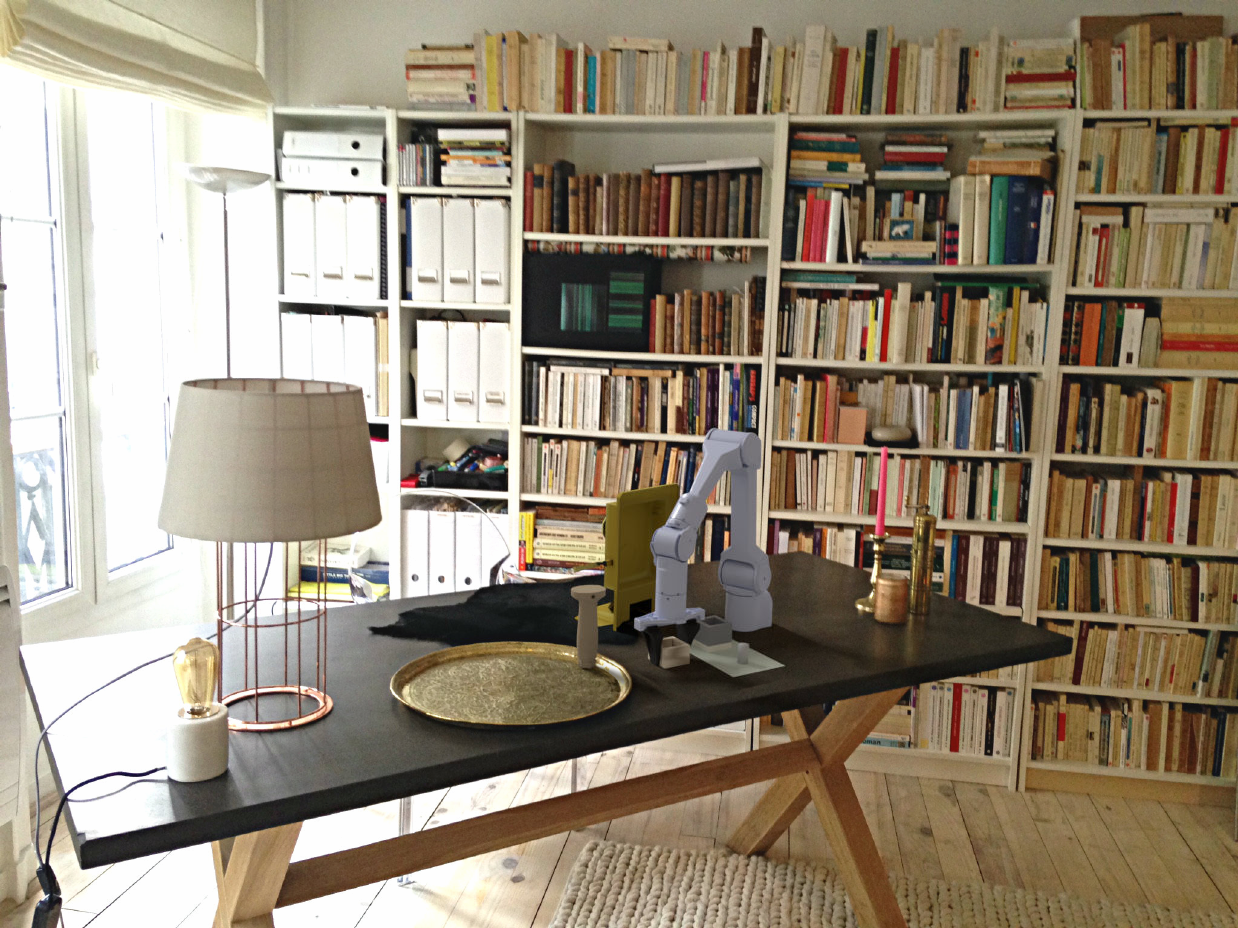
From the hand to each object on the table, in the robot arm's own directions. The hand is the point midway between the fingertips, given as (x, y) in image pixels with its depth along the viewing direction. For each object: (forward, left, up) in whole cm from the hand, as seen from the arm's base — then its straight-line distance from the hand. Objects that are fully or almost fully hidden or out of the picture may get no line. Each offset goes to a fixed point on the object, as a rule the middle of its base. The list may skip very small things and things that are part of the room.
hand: (668, 661), depth 189 cm
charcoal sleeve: (-12, -3, 0) cm, 12 cm away
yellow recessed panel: (-8, -28, -2) cm, 29 cm away
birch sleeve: (0, 0, -1) cm, 1 cm away
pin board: (-12, +2, -1) cm, 12 cm away
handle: (+13, -8, -2) cm, 15 cm away
